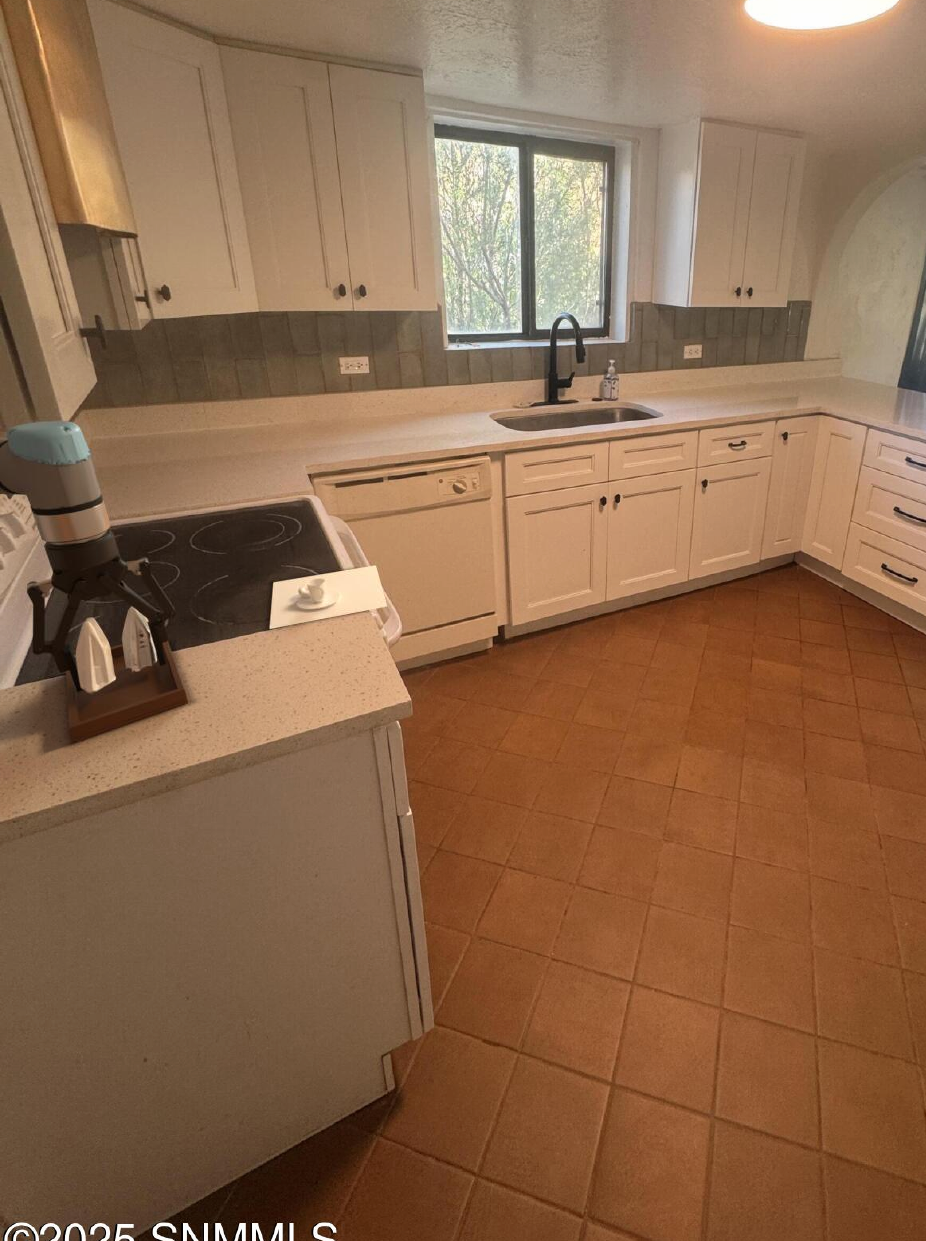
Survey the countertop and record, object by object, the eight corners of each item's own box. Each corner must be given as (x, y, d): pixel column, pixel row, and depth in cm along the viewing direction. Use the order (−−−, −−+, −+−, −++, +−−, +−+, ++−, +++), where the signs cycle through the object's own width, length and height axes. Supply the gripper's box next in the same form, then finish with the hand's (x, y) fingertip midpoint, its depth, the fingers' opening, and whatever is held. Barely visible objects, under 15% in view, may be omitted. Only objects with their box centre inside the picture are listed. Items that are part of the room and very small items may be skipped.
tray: (69, 673, 98) (64, 660, 97) (167, 644, 106) (164, 631, 105) (74, 742, 83) (69, 728, 82) (188, 702, 91) (184, 689, 90)
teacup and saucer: (296, 594, 122) (292, 575, 121) (339, 586, 125) (336, 568, 124) (296, 614, 115) (292, 595, 113) (342, 606, 118) (339, 586, 116)
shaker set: (94, 704, 87) (71, 636, 83) (71, 700, 88) (46, 632, 84) (168, 657, 98) (150, 595, 94) (146, 654, 99) (128, 592, 95)
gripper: (168, 510, 95) (201, 638, 103) (-30, 547, 81) (26, 690, 89) (176, 524, 89) (210, 657, 97) (-35, 566, 76) (25, 716, 84)
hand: (122, 673), depth 93 cm, fingers closed on shaker set, 9 cm apart
